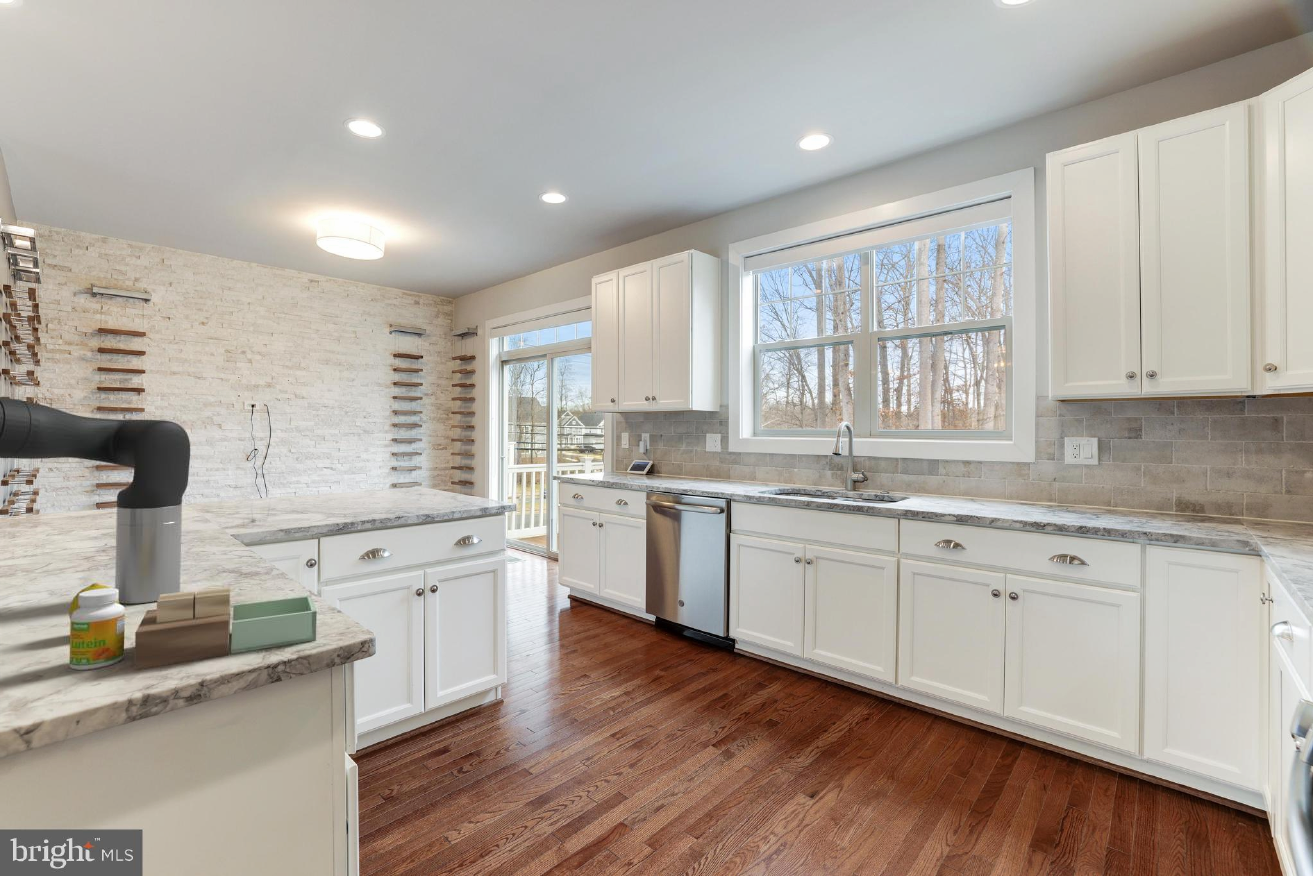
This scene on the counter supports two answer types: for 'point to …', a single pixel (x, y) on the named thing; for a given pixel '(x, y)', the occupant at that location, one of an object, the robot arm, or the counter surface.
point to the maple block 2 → (212, 602)
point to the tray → (273, 623)
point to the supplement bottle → (97, 630)
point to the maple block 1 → (176, 606)
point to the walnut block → (180, 639)
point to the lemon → (94, 586)
